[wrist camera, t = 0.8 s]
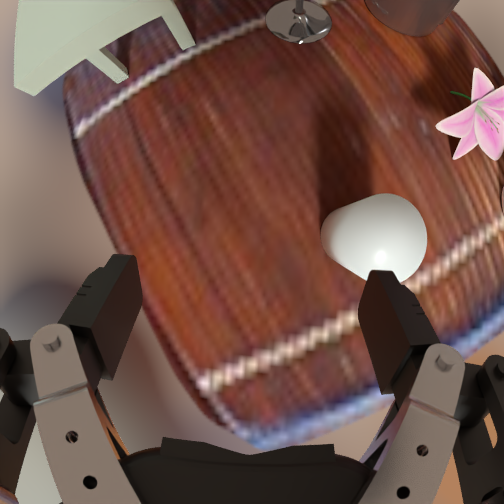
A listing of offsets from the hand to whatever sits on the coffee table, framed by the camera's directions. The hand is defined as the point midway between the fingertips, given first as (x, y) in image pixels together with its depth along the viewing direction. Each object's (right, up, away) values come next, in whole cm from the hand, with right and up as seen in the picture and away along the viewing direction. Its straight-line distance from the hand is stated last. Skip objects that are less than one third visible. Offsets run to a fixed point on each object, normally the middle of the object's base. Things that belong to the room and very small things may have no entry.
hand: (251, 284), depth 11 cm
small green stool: (-9, +18, +18) cm, 27 cm away
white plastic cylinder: (+9, +3, +17) cm, 19 cm away
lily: (+22, +14, +15) cm, 30 cm away
